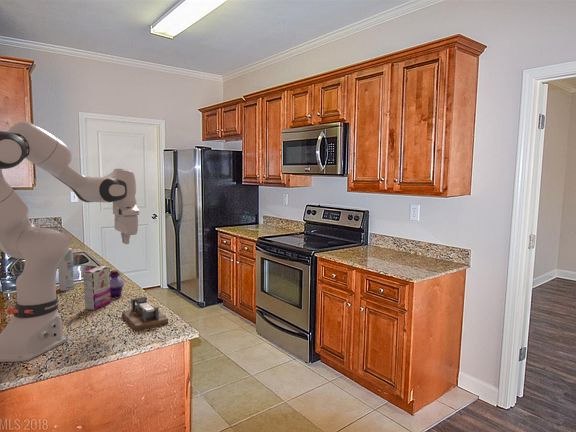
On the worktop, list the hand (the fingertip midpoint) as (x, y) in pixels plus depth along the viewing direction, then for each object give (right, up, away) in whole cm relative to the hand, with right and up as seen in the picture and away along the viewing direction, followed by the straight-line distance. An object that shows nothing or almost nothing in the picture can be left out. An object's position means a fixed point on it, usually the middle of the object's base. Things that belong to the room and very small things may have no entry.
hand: (125, 243), depth 158 cm
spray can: (-43, -25, +34) cm, 61 cm away
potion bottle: (-15, -26, +24) cm, 39 cm away
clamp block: (+10, -28, -6) cm, 30 cm away
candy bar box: (-16, -28, +10) cm, 34 cm away
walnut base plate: (+10, -30, -6) cm, 32 cm away
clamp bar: (+10, -24, -6) cm, 27 cm away
